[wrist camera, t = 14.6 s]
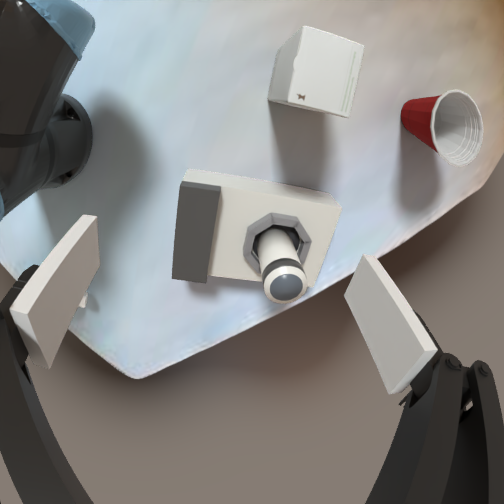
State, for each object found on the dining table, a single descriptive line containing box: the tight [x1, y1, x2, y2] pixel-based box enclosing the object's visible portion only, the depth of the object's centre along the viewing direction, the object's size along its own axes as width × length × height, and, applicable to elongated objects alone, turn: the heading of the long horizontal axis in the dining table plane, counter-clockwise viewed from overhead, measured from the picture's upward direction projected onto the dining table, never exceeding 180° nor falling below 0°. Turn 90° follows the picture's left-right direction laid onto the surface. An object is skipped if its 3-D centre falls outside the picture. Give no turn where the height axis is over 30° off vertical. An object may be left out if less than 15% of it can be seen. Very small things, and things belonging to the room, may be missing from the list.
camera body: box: [172, 168, 342, 287], centre depth 43 cm, size 22×14×8 cm, turn 79°
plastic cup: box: [401, 89, 483, 167], centre depth 34 cm, size 11×11×12 cm
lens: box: [256, 228, 308, 304], centre depth 38 cm, size 5×5×10 cm
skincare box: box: [268, 25, 365, 118], centre depth 29 cm, size 8×7×16 cm
